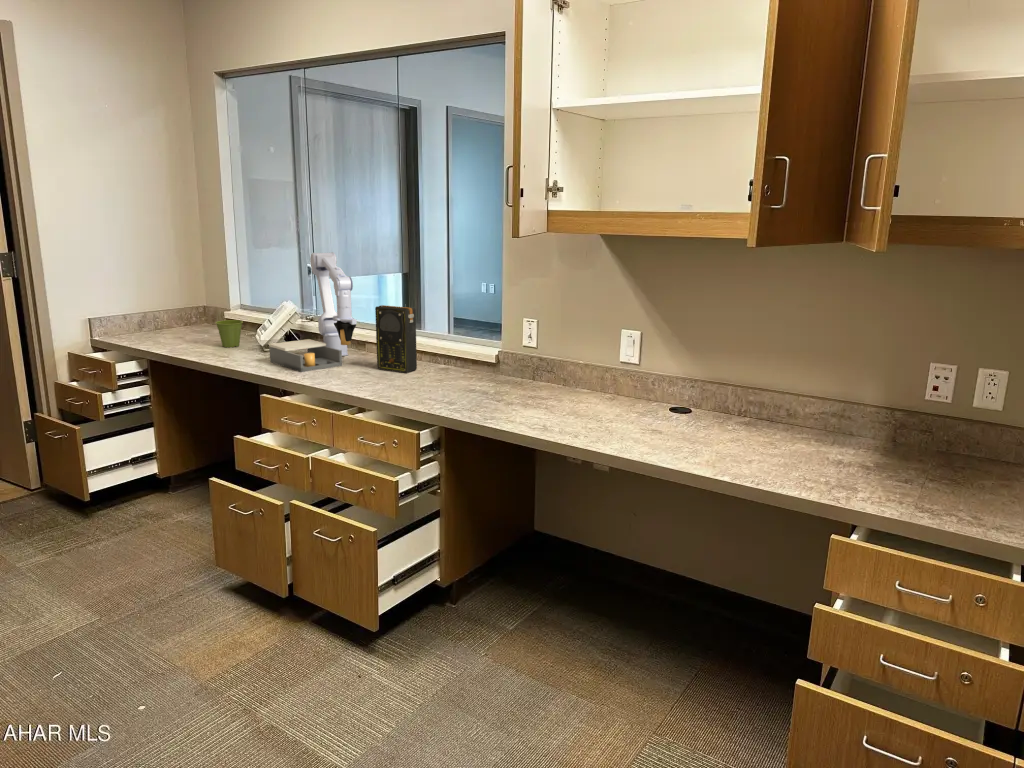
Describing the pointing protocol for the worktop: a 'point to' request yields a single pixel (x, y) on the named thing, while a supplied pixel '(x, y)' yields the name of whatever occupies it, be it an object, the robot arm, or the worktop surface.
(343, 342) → the peg
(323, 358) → the housing
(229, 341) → the plant pot
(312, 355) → the orange rounded cylinder
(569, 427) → the worktop surface
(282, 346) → the lid
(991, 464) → the worktop surface
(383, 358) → the voltmeter
